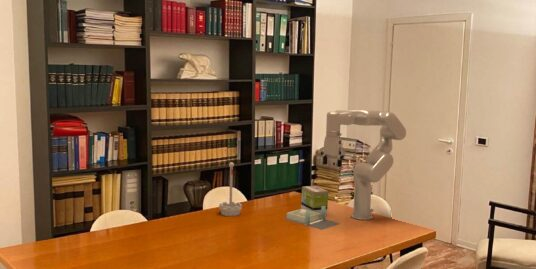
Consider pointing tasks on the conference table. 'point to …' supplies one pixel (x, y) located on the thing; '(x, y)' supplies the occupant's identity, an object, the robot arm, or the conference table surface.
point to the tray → (295, 217)
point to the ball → (302, 213)
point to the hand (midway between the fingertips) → (332, 165)
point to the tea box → (314, 198)
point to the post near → (307, 217)
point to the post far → (323, 212)
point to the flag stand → (230, 200)
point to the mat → (319, 223)
